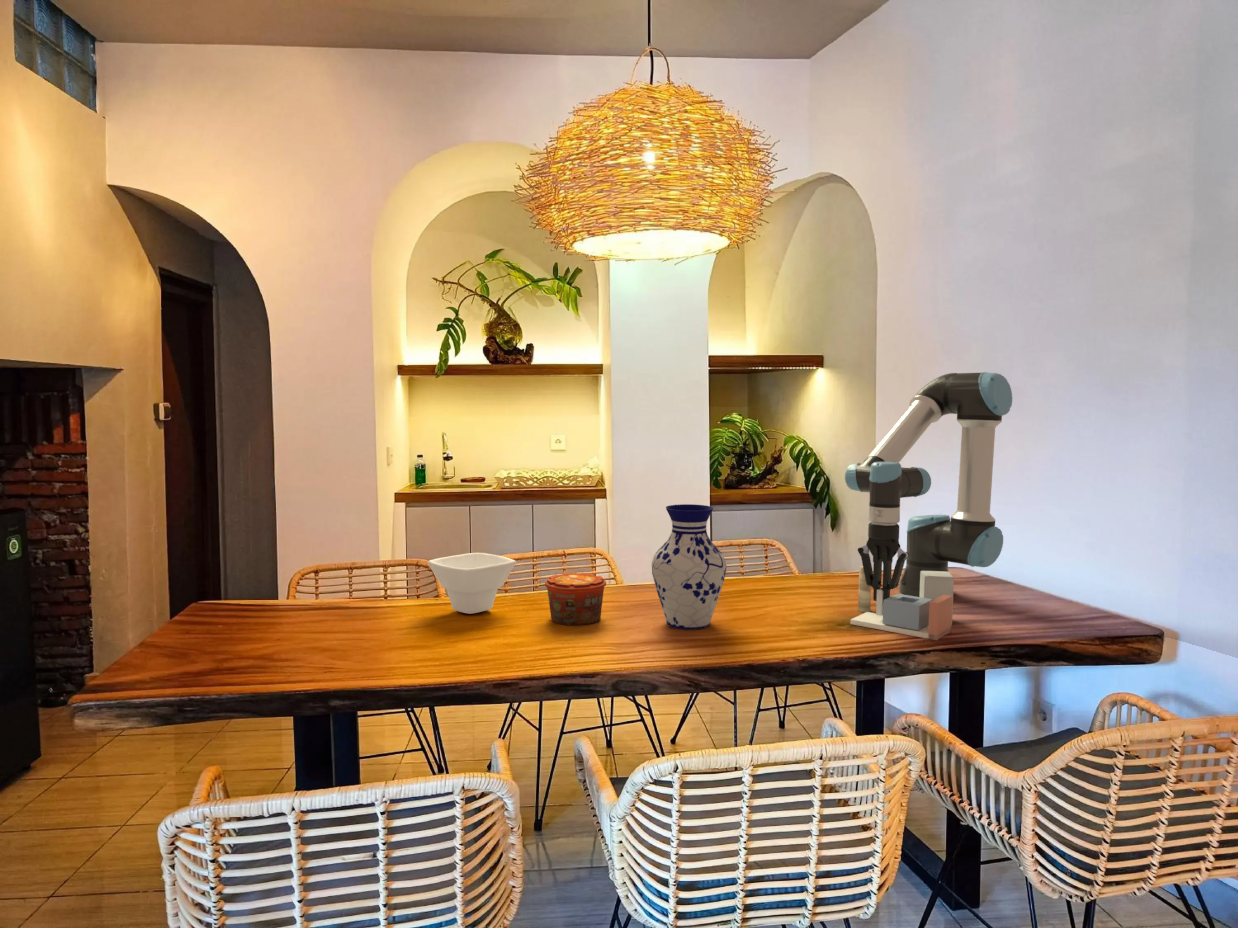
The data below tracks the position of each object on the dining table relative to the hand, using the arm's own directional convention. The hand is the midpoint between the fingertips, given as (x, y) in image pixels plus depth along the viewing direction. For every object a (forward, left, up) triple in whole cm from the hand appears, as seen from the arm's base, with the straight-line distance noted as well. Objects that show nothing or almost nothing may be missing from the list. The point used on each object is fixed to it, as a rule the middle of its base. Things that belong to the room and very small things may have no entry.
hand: (881, 614), depth 220 cm
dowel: (-10, -9, -3) cm, 14 cm away
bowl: (+60, -88, -3) cm, 107 cm away
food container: (+47, -62, -3) cm, 78 cm away
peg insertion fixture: (0, +5, -3) cm, 6 cm away
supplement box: (-12, +10, -3) cm, 16 cm away
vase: (+32, -37, -3) cm, 49 cm away
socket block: (0, +7, -1) cm, 7 cm away
